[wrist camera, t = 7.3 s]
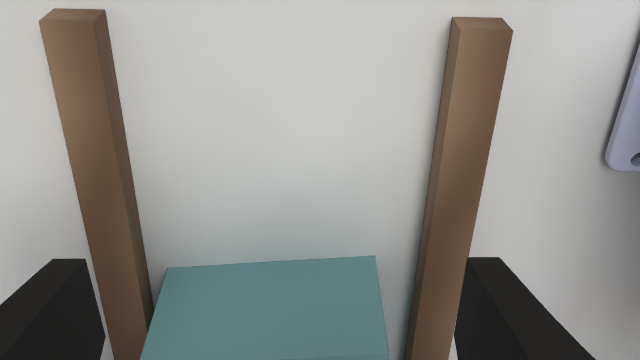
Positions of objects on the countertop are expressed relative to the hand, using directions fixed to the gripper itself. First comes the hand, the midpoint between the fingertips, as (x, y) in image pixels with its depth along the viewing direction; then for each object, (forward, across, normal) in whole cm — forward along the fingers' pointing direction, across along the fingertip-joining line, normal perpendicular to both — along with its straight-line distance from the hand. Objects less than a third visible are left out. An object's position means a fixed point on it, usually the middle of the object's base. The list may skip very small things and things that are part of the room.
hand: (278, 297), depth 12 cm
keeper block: (+10, +1, +10) cm, 14 cm away
